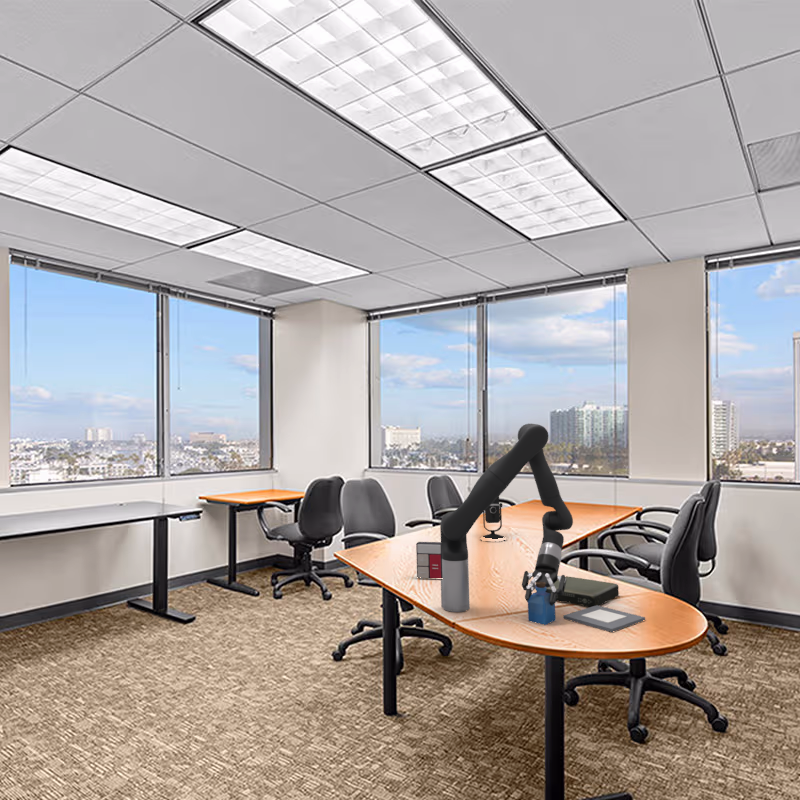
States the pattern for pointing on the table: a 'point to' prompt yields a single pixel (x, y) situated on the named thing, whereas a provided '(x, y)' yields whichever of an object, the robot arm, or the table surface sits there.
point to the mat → (604, 618)
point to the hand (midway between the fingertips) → (539, 602)
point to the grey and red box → (429, 560)
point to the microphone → (493, 518)
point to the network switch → (586, 591)
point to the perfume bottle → (540, 606)
